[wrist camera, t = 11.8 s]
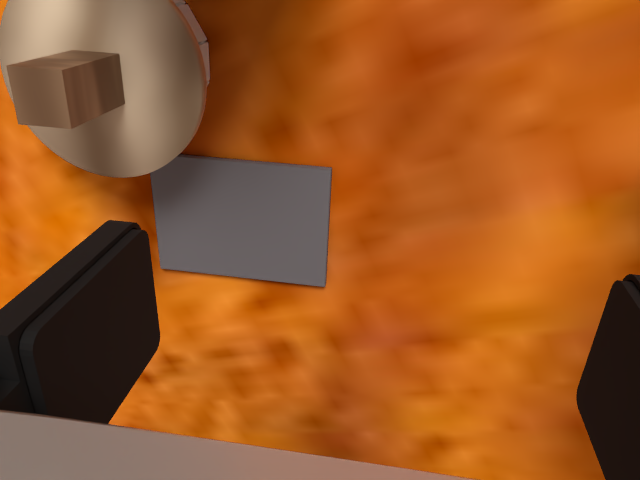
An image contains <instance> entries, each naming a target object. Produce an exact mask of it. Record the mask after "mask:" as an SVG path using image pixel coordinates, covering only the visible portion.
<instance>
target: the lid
mask: <svg viewBox="0 0 640 480" xmlns="http://www.w3.org/2000/svg"><path fill="white" fill-rule="evenodd" d="M0 63H1V70H2V73H3V77H4V81H5V84H6V87H7V89H8V92H9V94H10V97H11V99H12V101H13V103H14V105H15V110H16V115H17V120H18V124H21V125H28V127H29V128H30V129H31V130H32V132H33V133H34V134H35V135H36V136H37V137H38V138H39V139H40V140H41V141H42V142H43V143H44V144H45V145H46V146H47V147H48V148H49V149H51V150H52V151H53V152H54V153H56V154H57V155H58V156H60V157H61V158H63V159H64V160H66V161H67V162H69V163H71V164H73V165H75V166H76V167H79V168H81V169H83V170H86V171H88V172H91V173H95V174H98V175H102V176H108V177H120V178H126V177H136V176H141V175H145V174H148V173H151V172H153V171H156V170H158V169H160V168H161V167H163V166H165V165H166V164H168V163H169V162H170V161H172V160H173V159H174V158H175V157H176V156H178V155H179V154H180V153H181V152H182V151H183V150H184V149H185V148H186V147H187V146H188V145H189V143H190V142H191V140H192V139H193V137H194V136H195V134H196V132H197V130H198V128H199V126H200V123H201V121H202V117H203V114H204V110H205V104H206V97H207V80H206V71H205V65H204V61H203V56H202V53H201V50H200V47H199V44H198V41H197V39H196V37H195V35H194V33H193V30H192V28H191V26H190V25H189V23H188V21H187V20H186V18H185V17H184V15H183V13H182V12H181V11H180V9H179V8H178V7H177V6H176V4H175V3H174V2H173V1H172V0H8V2H7V5H6V7H5V10H4V12H3V16H2V20H1V25H0Z"/></svg>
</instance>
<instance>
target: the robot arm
mask: <svg viewBox="0 0 640 480" xmlns="http://www.w3.org/2000/svg"><path fill="white" fill-rule="evenodd" d="M159 341H160V330H159V321H158V313H157V305H156V296H155V288H154V279H153V271H152V262H151V254H150V246H149V238H148V234H147V232H146V231H145V230H141V228H140V226H139V225H138V224H137V223H133V222H123V221H114V220H109V221H107V222H105V223H104V224H103V225H102V226H101V227H99V228H98V229H97V230H96V231H94V232H93V233H92V234H91V235H90V236H88V237H87V238H86V239H85V240H84V241H82V242H81V243H80V244H79V245H78V246H76V247H75V248H74V249H73V250H72V251H70V252H69V253H68V254H67V255H65V256H64V257H63V258H62V259H61V260H59V261H58V262H57V263H56V264H55V265H53V266H52V267H51V268H50V269H49V270H47V271H46V272H45V273H44V274H43V275H41V276H40V277H39V278H38V279H37V280H35V281H34V282H33V283H32V284H30V285H29V286H28V287H27V288H26V289H24V290H23V291H22V292H21V293H20V294H18V295H17V296H16V297H15V298H14V299H12V300H11V301H10V302H9V303H8V304H6V305H5V306H4V307H3V308H1V309H0V480H479V479H472V478H465V477H459V476H452V475H445V474H439V473H432V472H425V471H419V470H412V469H405V468H399V467H392V466H385V465H379V464H372V463H365V462H359V461H352V460H345V459H339V458H332V457H325V456H319V455H312V454H305V453H299V452H292V451H286V450H279V449H272V448H266V447H259V446H252V445H246V444H239V443H233V442H226V441H219V440H213V439H206V438H199V437H193V436H186V435H179V434H172V433H166V432H159V431H152V430H145V429H138V428H131V427H124V426H117V425H110V424H108V423H109V421H110V420H111V418H112V417H113V415H114V414H115V412H116V411H117V409H118V408H119V406H120V405H121V403H122V402H123V400H124V399H125V397H126V396H127V394H128V393H129V391H130V390H131V388H132V387H133V385H134V384H135V382H136V381H137V379H138V378H139V376H140V375H141V373H142V372H143V370H144V369H145V367H146V366H147V364H148V363H149V361H150V360H151V358H152V357H153V355H154V354H155V352H156V351H157V348H158V346H159ZM577 405H578V409H579V411H580V414H581V417H582V419H583V422H584V424H585V427H586V430H587V432H588V435H589V437H590V440H591V443H592V445H593V448H594V450H595V453H596V456H597V458H598V461H599V464H600V466H601V469H602V471H603V474H604V477H605V479H606V480H640V275H632V274H629V275H627V276H626V277H625V278H624V279H623V281H618V280H617V281H615V282H614V284H613V286H612V288H611V291H610V294H609V297H608V300H607V302H606V305H605V308H604V311H603V314H602V317H601V320H600V323H599V326H598V329H597V332H596V335H595V338H594V341H593V344H592V347H591V350H590V353H589V356H588V359H587V362H586V365H585V368H584V371H583V374H582V377H581V380H580V383H579V385H578V389H577Z"/></svg>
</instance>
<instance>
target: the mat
mask: <svg viewBox="0 0 640 480" xmlns="http://www.w3.org/2000/svg"><path fill="white" fill-rule="evenodd" d="M150 176H151V185H152V194H153V203H154V212H155V221H156V230H157V239H158V248H159V257H160V266H161V268H162V269H171V270H180V271H189V272H198V273H206V274H215V275H224V276H233V277H242V278H250V279H259V280H268V281H277V282H286V283H294V284H303V285H312V286H321V287H325V285H326V274H327V255H328V235H329V216H330V197H331V178H332V168H331V167H319V166H308V165H297V164H285V163H274V162H262V161H251V160H240V159H228V158H217V157H205V156H194V155H183V154H179V155H178V156H176V157H175V158H174V159H173V160H172V161H170V162H169V163H168V164H166V165H165V166H163V167H161V168H160V169H158V170H156V171H153V172H151V173H150Z"/></svg>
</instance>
